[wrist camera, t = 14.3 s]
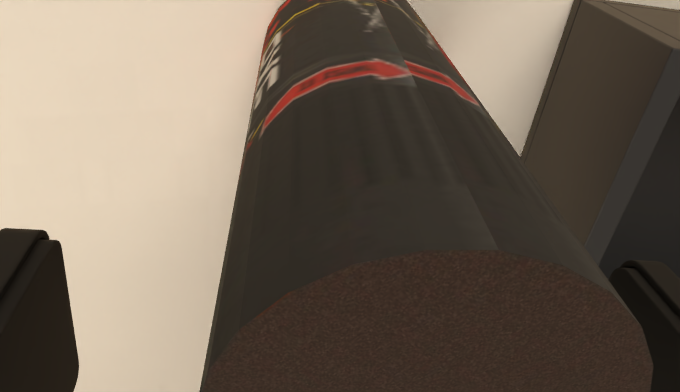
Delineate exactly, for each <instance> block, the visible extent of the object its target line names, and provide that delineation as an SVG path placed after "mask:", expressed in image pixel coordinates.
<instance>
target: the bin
mask: <svg viewBox="0 0 680 392" xmlns="http://www.w3.org/2000/svg"><path fill="white" fill-rule="evenodd" d="M521 159H522V161H523V162H524V164H525V165H526V166H527V168H528V169H529V170H530V172H531V173H532V175H533V176H534V177H535V179H536V180H537V182H538V183H539V184H540V186H541V187H542V189H543V190H544V191H545V193H546V194H547V196H548V197H549V198H550V200H551V201H552V202H553V204H554V205H555V207H556V208H557V209H558V211H559V212H560V214H561V215H562V216H563V218H564V219H565V221H566V222H567V223H568V225H569V226H570V228H571V229H572V230H573V232H574V233H575V234H576V236H577V237H578V239H579V240H580V241H581V243H582V244H583V246H584V247H585V248H586V250H587V251H588V253H589V254H590V255H591V257H592V258H593V260H594V261H595V262H596V264H597V265H598V266H599V268H600V269H601V271H602V272H603V273H604V275H605V276H606V278H607V279H608V280H609V278H610V276H611V274H612V272H613V271H614V270H615V269H617V268H620V266H621V265H622V264H623V263H624V262H626V261H629V260H640V261H658V262H662V263H664V264H665V265H667V266H668V267H669V268H670V269H671V270H672V271H673V272H674V273H675V274H676V275H677V276H678V277H679V278H680V10H675V9H667V8H660V7H652V6H645V5H637V4H630V3H622V2H615V1H607V0H574V3H573V6H572V9H571V12H570V15H569V18H568V21H567V24H566V27H565V29H564V32H563V35H562V38H561V41H560V44H559V47H558V50H557V53H556V56H555V59H554V62H553V65H552V68H551V70H550V73H549V76H548V79H547V82H546V85H545V88H544V91H543V94H542V97H541V100H540V103H539V106H538V108H537V111H536V114H535V117H534V120H533V123H532V126H531V129H530V132H529V135H528V138H527V141H526V144H525V147H524V149H523V152H522V155H521Z"/></svg>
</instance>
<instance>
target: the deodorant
mask: <svg viewBox="0 0 680 392" xmlns="http://www.w3.org/2000/svg"><path fill="white" fill-rule="evenodd" d="M653 367H654V365H653V362H652V358H651V355H650V352H649V349H648V345H647V342H646V339H645V335H644V332H643V329H642V326H641V325H640V324H639V322H638V321H637V319H636V318H635V317H634V315H633V314H632V312H631V311H630V310H629V308H628V307H627V305H626V304H625V303H624V301H623V300H622V298H621V297H620V296H619V294H618V293H617V292H616V290H615V289H614V287H613V286H612V285H611V283H610V282H609V280H608V279H607V278H606V276H605V275H604V273H603V272H602V271H601V269H600V268H599V266H598V265H597V264H596V262H595V261H594V260H593V258H592V257H591V255H590V254H589V253H588V251H587V250H586V248H585V247H584V246H583V244H582V243H581V241H580V240H579V239H578V237H577V236H576V234H575V233H574V232H573V230H572V229H571V228H570V226H569V225H568V223H567V222H566V221H565V219H564V218H563V216H562V215H561V214H560V212H559V211H558V209H557V208H556V207H555V205H554V204H553V202H552V201H551V200H550V198H549V197H548V196H547V194H546V193H545V191H544V190H543V189H542V187H541V186H540V184H539V183H538V182H537V180H536V179H535V177H534V176H533V175H532V173H531V172H530V170H529V169H528V168H527V166H526V165H525V164H524V162H523V161H522V159H521V158H520V157H519V155H518V154H517V152H516V151H515V150H514V148H513V147H512V145H511V144H510V143H509V141H508V140H507V138H506V137H505V136H504V134H503V133H502V131H501V130H500V129H499V127H498V126H497V125H496V123H495V122H494V120H493V119H492V118H491V116H490V115H489V113H488V112H487V111H486V109H485V108H484V106H483V105H482V104H481V102H480V101H479V99H478V98H477V97H476V95H475V94H474V93H473V91H472V90H471V88H470V87H469V86H468V84H467V83H466V81H465V80H464V79H463V77H462V76H461V74H460V73H459V72H458V70H457V69H456V67H455V66H454V65H453V63H452V62H451V61H450V59H449V58H448V56H447V55H446V54H445V52H444V51H443V49H442V48H441V47H440V45H439V44H438V42H437V41H436V40H435V38H434V37H433V35H432V34H431V33H430V31H429V30H428V29H427V27H426V26H425V24H424V23H423V22H422V20H421V19H420V17H419V16H418V15H417V13H416V12H415V11H414V10H413V8H412V7H411V6H410V5H409V3H408V2H407V1H406V0H286V1H285V2H284V3H283V4H282V5H281V6H280V7H279V9H278V11H277V12H276V14H275V16H274V18H273V19H272V21H271V23H270V25H269V26H268V30H267V33H266V37H265V41H264V45H263V50H262V55H261V61H260V66H259V71H258V77H257V82H256V88H255V93H254V99H253V104H252V110H251V115H250V120H249V126H248V131H247V137H246V142H245V148H244V153H243V159H242V164H241V169H240V175H239V180H238V186H237V191H236V197H235V202H234V208H233V213H232V218H231V224H230V229H229V235H228V240H227V246H226V251H225V256H224V262H223V267H222V273H221V278H220V284H219V289H218V295H217V300H216V305H215V311H214V316H213V322H212V327H211V333H210V338H209V344H208V349H207V354H206V360H205V365H204V371H203V376H202V382H201V387H200V392H650V390H651V382H652V374H653Z"/></svg>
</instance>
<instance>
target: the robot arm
mask: <svg viewBox="0 0 680 392" xmlns="http://www.w3.org/2000/svg"><path fill="white" fill-rule="evenodd" d="M609 282H610V283H611V285H612V286H613V287H614V289H615V290H616V292H617V293H618V294H619V296H620V297H621V298H622V300H623V301H624V303H625V304H626V305H627V307H628V308H629V310H630V311H631V312H632V314H633V315H634V317H635V318H636V319H637V321H638V322H639V324H640V325H641V326H642V329H643V332H644V335H645V339H646V342H647V345H648V349H649V352H650V355H651V358H652V362H653V365H654V367H653V374H652V382H651V390H650V392H680V278H679V277H678V276H677V275H676V274H675V273H674V272H673V271H672V270H671V269H670V268H669V267H668V266H667V265H665V264H664V263H662V262H658V261H640V260H629V261H626V262H624V263H623V264H622V265H621V266H620V268H617V269H615V270H614V271H613V272H612V274H611V276H610V278H609ZM78 371H79V360H78V354H77V347H76V340H75V334H74V327H73V320H72V314H71V307H70V300H69V294H68V287H67V280H66V274H65V267H64V260H63V254H62V248H61V244H60V242H59V241H57V240H49V236H48V234H47V232H46V231H44V230H31V229H11V228H5V229H1V230H0V392H73V391H74V388H75V385H76V382H77V378H78Z"/></svg>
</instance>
